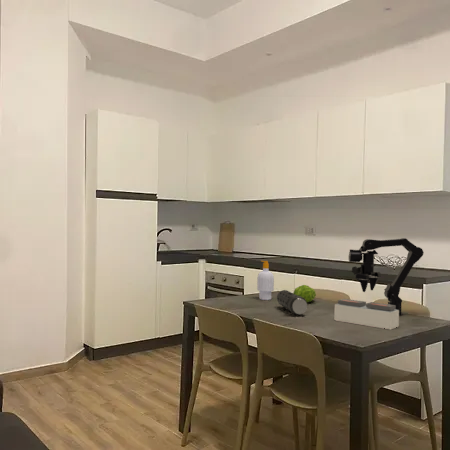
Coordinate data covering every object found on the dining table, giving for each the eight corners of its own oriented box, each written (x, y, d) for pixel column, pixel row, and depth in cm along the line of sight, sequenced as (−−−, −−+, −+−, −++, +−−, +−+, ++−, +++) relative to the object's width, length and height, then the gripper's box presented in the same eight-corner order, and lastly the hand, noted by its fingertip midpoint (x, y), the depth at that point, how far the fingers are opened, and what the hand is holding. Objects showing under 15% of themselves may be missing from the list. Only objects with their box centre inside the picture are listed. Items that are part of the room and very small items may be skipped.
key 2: (371, 305, 234) (371, 302, 233) (395, 309, 225) (395, 305, 225) (365, 307, 229) (366, 303, 229) (390, 310, 221) (390, 306, 221)
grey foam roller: (292, 307, 275) (292, 289, 275) (308, 317, 247) (309, 297, 247) (276, 307, 273) (276, 289, 273) (291, 317, 245) (291, 297, 245)
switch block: (343, 317, 245) (343, 302, 245) (398, 326, 226) (398, 309, 226) (334, 320, 239) (334, 304, 239) (390, 329, 219) (390, 312, 219)
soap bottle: (256, 297, 307) (257, 260, 307) (273, 298, 306) (273, 260, 306) (257, 300, 297) (258, 261, 296) (274, 300, 296) (274, 261, 296)
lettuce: (319, 290, 306) (304, 278, 309) (318, 294, 283) (300, 280, 286) (308, 305, 308) (292, 293, 310) (305, 309, 284) (288, 296, 287)
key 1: (343, 302, 244) (343, 298, 244) (365, 305, 236) (365, 301, 236) (338, 303, 239) (338, 300, 239) (360, 306, 231) (360, 303, 231)
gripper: (362, 260, 271) (362, 288, 271) (346, 262, 257) (346, 291, 257) (381, 261, 263) (380, 290, 263) (365, 263, 250) (365, 293, 250)
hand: (367, 291), depth 259 cm, fingers open, 9 cm apart
